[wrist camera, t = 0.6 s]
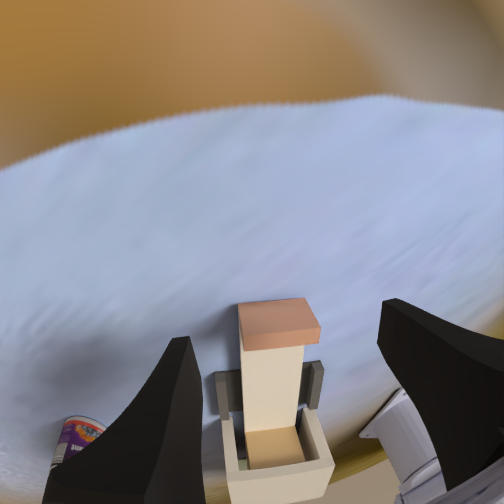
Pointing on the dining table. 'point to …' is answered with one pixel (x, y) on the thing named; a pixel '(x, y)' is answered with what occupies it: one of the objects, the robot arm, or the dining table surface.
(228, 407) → the pit tray
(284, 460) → the sled
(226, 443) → the tunnel
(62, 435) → the pill bottle
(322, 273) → the dining table surface
